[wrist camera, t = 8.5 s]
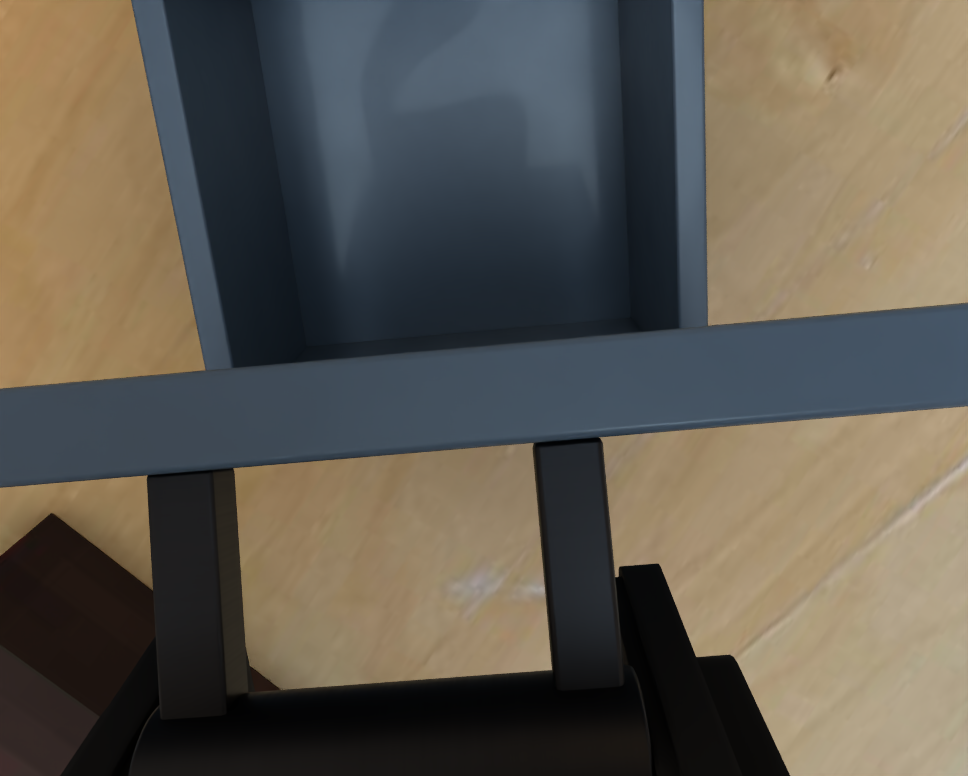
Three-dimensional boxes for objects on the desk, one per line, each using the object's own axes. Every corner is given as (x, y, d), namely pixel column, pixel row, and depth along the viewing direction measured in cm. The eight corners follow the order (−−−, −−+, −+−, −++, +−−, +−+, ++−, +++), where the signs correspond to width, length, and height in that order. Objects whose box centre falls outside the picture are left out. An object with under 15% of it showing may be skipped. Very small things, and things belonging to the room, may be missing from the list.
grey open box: (223, -60, 27) (98, -156, 18) (634, -105, 26) (701, -225, 18) (294, 363, 31) (220, 445, 22) (649, 331, 30) (710, 403, 22)
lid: (-496, 431, 7) (-493, 1068, 6) (1203, 281, 6) (1301, 965, 6) (213, 436, 22) (225, 621, 22) (712, 393, 21) (732, 582, 21)
